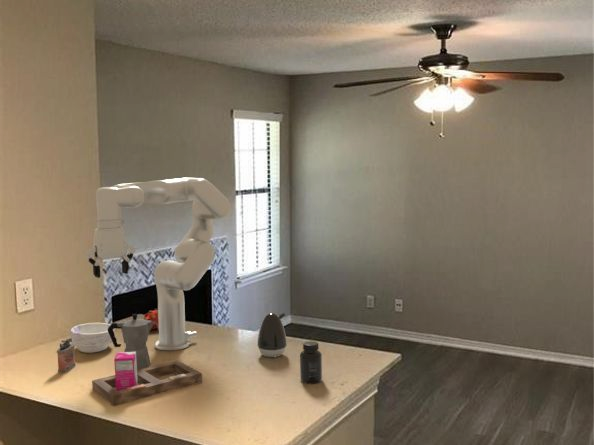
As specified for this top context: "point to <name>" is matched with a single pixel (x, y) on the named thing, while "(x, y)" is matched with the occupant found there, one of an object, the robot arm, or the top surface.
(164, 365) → the wooden compartment tray
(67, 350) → the lighter
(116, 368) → the supplement box
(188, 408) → the top surface
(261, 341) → the dark grey tapered dome
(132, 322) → the coffeepot
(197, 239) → the robot arm
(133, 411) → the top surface
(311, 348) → the supplement bottle
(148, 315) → the dragon fruit
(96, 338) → the paper bowls
